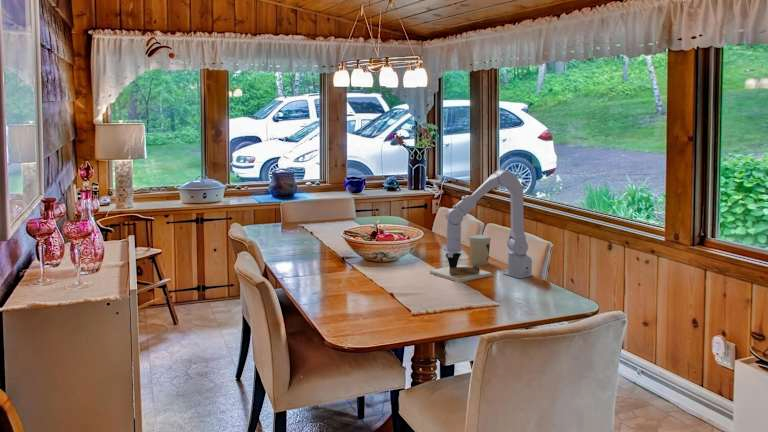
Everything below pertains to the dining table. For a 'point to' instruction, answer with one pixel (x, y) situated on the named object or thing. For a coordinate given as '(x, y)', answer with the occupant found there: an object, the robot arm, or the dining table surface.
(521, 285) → the dining table surface
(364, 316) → the dining table surface
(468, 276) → the latch board
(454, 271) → the bar
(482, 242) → the coffee cup
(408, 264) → the dining table surface
